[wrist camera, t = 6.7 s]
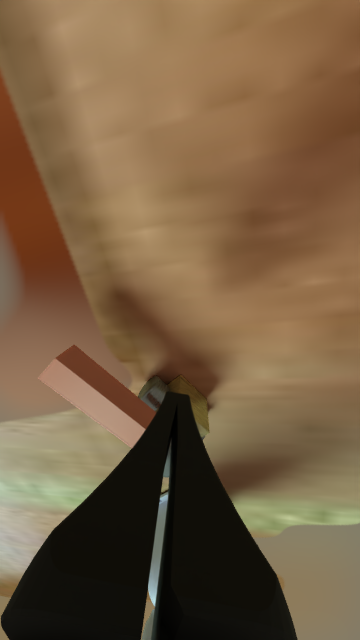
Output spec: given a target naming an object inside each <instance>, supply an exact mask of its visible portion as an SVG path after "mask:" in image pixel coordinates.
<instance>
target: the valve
mask: <svg viewBox="0 0 360 640" xmlns="http://www.w3.org/2000/svg"><path fill="white" fill-rule="evenodd" d="M168 391H169V392H175V393H181V394H187V395H189V396H190V401H191V406H192V410H193V414H194V417H195V421H196V424H197V427H198V430H199V433H200V435H201V438H202V440H203V439H204V437H205V435H207V434H208V433H209V422H208V410H207V399H206V398H205V397H204V396H203V395H202V394H201V393H200V392H199V391H198V390H197V389H195V388H194V387H193V386H192V385H191V384H190V383H189V382H188V381H187V380H186V379H185V378H184V377H183V376H182V375H180V376H178V377H177V378H176V379H174V380H173V381H172V382H170V383H169V384H167V385H166V384H165V383H164V382H163V381H162V380H161V379H160V378H159V377H157V376H154V377H153V378H151V379H150V380H149V381H148V382H147V383H146V384H145V385H144V386H143V388H142V389H141V391H140V393H139V395H138V398H140V399H141V400H142V401H143V402H144V403H146V404H147V405H148V406H149V407H150V408H152V409H153V410H154V411H155V412H157V411H158V409H159V407H160V405H161V403H162V401H163V399H164V397H165V394H166V392H168Z"/></svg>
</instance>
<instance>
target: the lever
mask: <svg viewBox="0 0 360 640" xmlns="http://www.w3.org/2000/svg"><path fill="white" fill-rule="evenodd" d="M38 379H39V380H41V381H42V382H43V383H45V384H46V385H47V386H49V387H50V388H51V389H53V390H54V391H55V392H57V393H58V394H59V395H61V396H62V397H64V398H65V399H66V400H68V401H69V402H70V403H72V404H73V405H74V406H76V407H77V408H78V409H80V410H81V411H82V412H84V413H85V414H86V415H88V416H89V417H90V418H92V419H93V420H95V421H96V422H97V423H99V424H100V425H101V426H103V427H104V428H105V429H107V430H108V431H109V432H111V433H112V434H113V435H115V436H116V437H117V438H119V439H120V440H121V441H123V442H124V443H126V444H127V445H128V446H130V447H131V448H133V446H134V445H135V444H136V442H137V441H138V440H139V438H140V437H141V436H142V434H143V433H144V431H145V430H146V428H147V427H148V425H149V424H150V422H151V421H152V419H153V418H154V416H155V414H156V412H155V411H154V410H153V409H152V408H150V407H149V406H148V405H147V404H146V403H144V402H143V401H142V400H141V399H140V398H138V397H137V396H136V395H135V394H134V393H132V392H131V391H130V390H129V389H127V388H126V387H125V386H124V385H123V384H121V383H120V382H119V381H118V380H117V379H115V378H114V377H113V376H112V375H110V374H109V373H108V372H107V371H106V370H104V369H103V368H102V367H101V366H100V365H98V364H97V363H96V362H95V361H94V360H92V359H91V358H90V357H89V356H87V355H86V354H85V353H84V352H83V351H81V350H80V349H79V348H78V347H77V346H75V345H73V346H71V347H70V348H69V349H67V350H66V351H64V352H63V353H62V354H60V355H59V356H58V357H56V358H55V359H54V360H53V361H52V362H51V363H50V365H49V366H48V367H47V368H46V369H45V370H44V371H43V372H42V374H41V375H40V376H39V377H38ZM170 452H171V441H170V446H169V450H168V455H167V460H166V464H165V469H164V474H163V477H169V472H170Z"/></svg>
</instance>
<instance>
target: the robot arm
mask: <svg viewBox="0 0 360 640" xmlns="http://www.w3.org/2000/svg"><path fill="white" fill-rule="evenodd" d="M170 441H171V452H170V472H169V490H168V492H166V493H164V494H162V495H161V488H162V480H163V474H164V469H165V464H166V460H167V455H168V450H169V446H170ZM148 590H149V595H150V598H151V600H152V603H153V604H154V606H155V609H154V610H152V612H151V615H150V616H149V618H148V620H147V621H146V624H145V628H144V631H143V636H142V640H297V637H296V632H295V628H294V625H293V621H292V618H291V615H290V612H289V609H288V606H287V603H286V600H285V597H284V594H283V591H282V588H281V586H280V583H279V580H278V578H277V575H276V573H275V572H274V571H273V569H272V567H271V566H270V564H269V563H268V561H267V559H266V558H265V556H264V555H263V553H262V552H261V550H260V549H259V547H258V545H257V544H256V542H255V541H254V539H253V537H252V536H251V534H250V533H249V531H248V529H247V528H246V526H245V524H244V523H243V521H242V519H241V518H240V516H239V514H238V512H237V511H236V509H235V507H234V505H233V503H232V501H231V500H230V498H229V496H228V494H227V492H226V491H225V489H224V487H223V485H222V483H221V481H220V479H219V477H218V475H217V473H216V471H215V469H214V467H213V464H212V462H211V460H210V458H209V456H208V453H207V451H206V448H205V446H204V443H203V441H202V438H201V435H200V433H199V430H198V427H197V424H196V421H195V417H194V414H193V410H192V406H191V401H190V396H189V395H187V394H181V393H175V392H169V391H168V392H166V394H165V397H164V399H163V401H162V403H161V405H160V407H159V409H158V411H157V412H156V414H155V416H154V418H153V419H152V421H151V422H150V424H149V425H148V427H147V428H146V430H145V431H144V433H143V434H142V436H141V437H140V438H139V440H138V441H137V442H136V444H135V445H134V446H133V448H132V449H131V450H130V451H129V453H128V454H127V455H126V456H125V457H124V459H123V460H122V461H121V462H120V463H119V464H118V466H117V467H116V468H115V469H114V470H113V471H112V472H111V473H110V475H109V476H108V477H107V478H106V479H105V480H104V481H103V482H102V483H101V484H100V485H99V486H98V487H97V488H96V489H95V490H94V491H93V492H92V493H91V494H90V495H89V496H88V497H87V498H86V499H85V500H84V501H83V502H82V503H81V504H80V505H79V506H78V507H77V508H76V509H75V510H74V511H73V512H72V513H71V514H70V515H69V516H67V517H66V518H65V519H64V520H63V521H62V522H61V523H60V524H59V525H58V526H57V527H56V528H55V529H54V530H53V531H52V532H51V534H50V535H49V536H48V538H47V539H46V541H45V542H44V543H43V545H42V546H41V548H40V549H39V551H38V552H37V554H36V555H35V557H34V558H33V560H32V562H31V563H30V565H29V566H28V568H27V570H26V571H25V573H24V575H23V576H22V578H21V580H20V582H19V584H18V586H17V588H16V589H15V591H14V593H13V595H12V597H11V599H10V601H9V603H8V604H7V607H6V608H5V610H4V612H3V614H2V616H1V626H2V628H3V630H4V631H5V633H6V635H7V636H8V638H9V640H141V633H142V627H143V619H144V613H145V605H146V598H147V591H148Z"/></svg>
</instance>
